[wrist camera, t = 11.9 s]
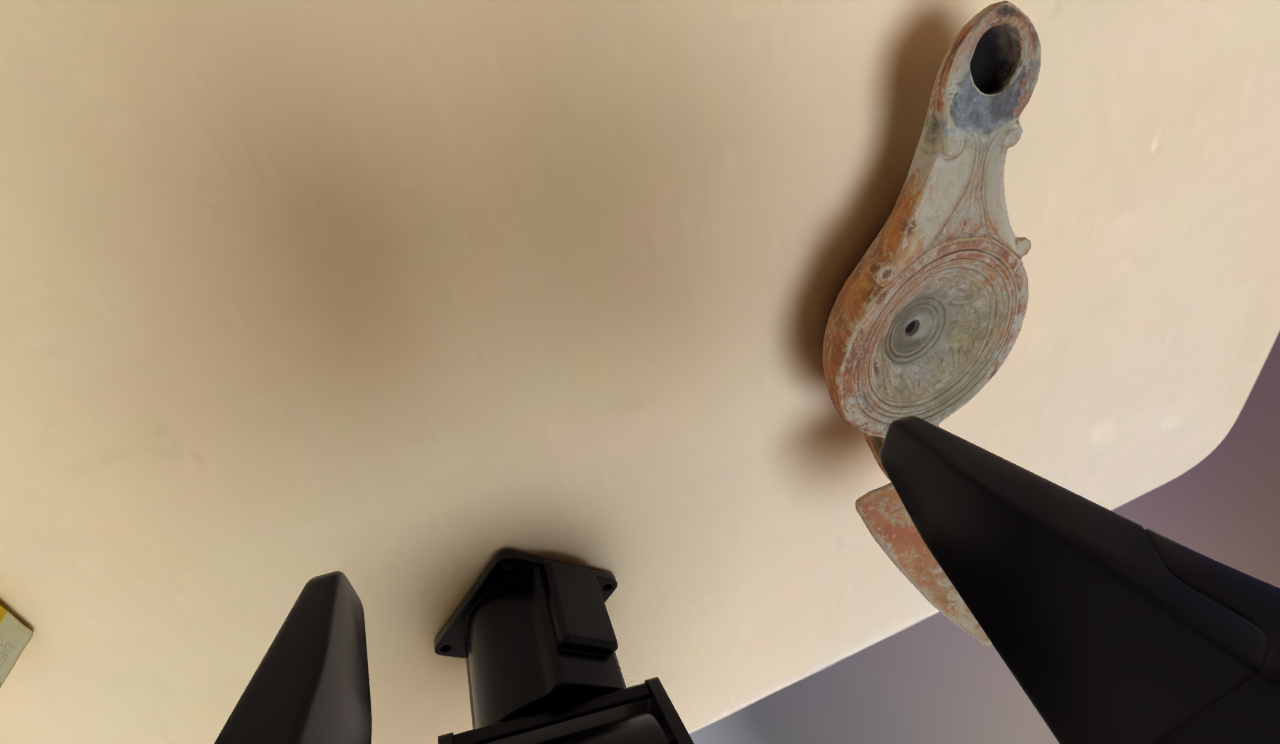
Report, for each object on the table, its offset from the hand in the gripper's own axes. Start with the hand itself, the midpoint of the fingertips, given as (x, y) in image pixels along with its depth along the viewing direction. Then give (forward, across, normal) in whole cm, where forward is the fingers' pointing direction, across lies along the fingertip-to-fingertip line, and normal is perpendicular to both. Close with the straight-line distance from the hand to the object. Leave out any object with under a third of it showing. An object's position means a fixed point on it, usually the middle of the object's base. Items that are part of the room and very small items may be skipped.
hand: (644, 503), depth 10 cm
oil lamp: (+12, -14, +6) cm, 20 cm away
